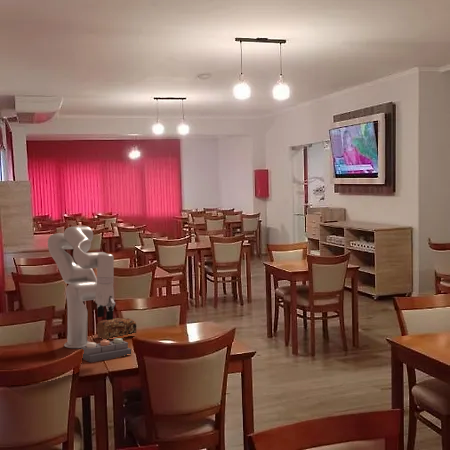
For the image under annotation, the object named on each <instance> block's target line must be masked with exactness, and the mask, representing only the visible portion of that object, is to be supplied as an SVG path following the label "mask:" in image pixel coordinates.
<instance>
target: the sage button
mask: <svg viewBox="0 0 450 450" xmlns="http://www.w3.org/2000/svg"><path fill="white" fill-rule="evenodd" d="M123 339H124V338H115V339H113V341H114V343H115V344H119V343H123V341H124V340H123Z"/></svg>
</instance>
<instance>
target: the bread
mask: <svg viewBox="0 0 450 450" xmlns="http://www.w3.org/2000/svg"><path fill="white" fill-rule="evenodd" d="M96 325H97V328H96V331H97V337H98V338H99V337H101V338H103V339H108V338H113V337H118V336H123V335H128V334H132V333H136V334H137V323H136V321H135V320H133V319H131V318H124V317H123V318H121V317H116V318H113V319H112V320H106V319H102V320H100V321H99V322H97V324H96ZM108 340H109V339H108Z"/></svg>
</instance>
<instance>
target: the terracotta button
mask: <svg viewBox="0 0 450 450" xmlns="http://www.w3.org/2000/svg"><path fill="white" fill-rule="evenodd" d="M110 342H111V341H110V339H108V340H102V339H101V340H100V342H99V343H100V345H101V346H107V345H110Z"/></svg>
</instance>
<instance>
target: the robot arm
mask: <svg viewBox="0 0 450 450" xmlns="http://www.w3.org/2000/svg"><path fill="white" fill-rule="evenodd" d="M93 231H94V230H93V229H92V228H91V227H89V226H83V225H82V226H81V225H79V226H78V225H77V226H70V227H67V228H66V229H65V230H64V232H58V233H53V234H51V235H50V236H49V237H48V239H47V249H48V252H49V254H50V256H51V258H52V259H53V260H54V262H55V264H56V266H57V269H58V271H59V274H60V276H61V278H62V280H63V282H64V283H65V284H68V285H67V286H66V287H65V298H66V304H67V306H66V307H67V335H66V338H67V342H64V344H63V345H64V348H67V349H81V346H86V345H87V343H89V342H90V341H89V340H88V309H87V306H86V305H85V304H84V302H85V301H93V300H94V301H95V305H96V311H97V313H96V315H97V316H96V317H97V318H102V317H105V320H112V319H114V309H115V306H116V302H115V290H114V289H115V288H114V282H115V281H114V279H115V278H114V275H115V274H114V269H115V268H114V267H115V266H114V264H115V261H114V260H115V259H114V255H113V254H111V253H107V252H105V251H99V252H98V251H97V252H96V251H94V252H93V251H92V252H89V250H90V249H91V248H92V243H91V242H92V241H93V239H94V232H93ZM66 250H73V251H72V255H71V254H70V253H69V252H67V251H66ZM94 269H96V273H95V271H94ZM104 307H105V308H106V312H105V308H104Z"/></svg>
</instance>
